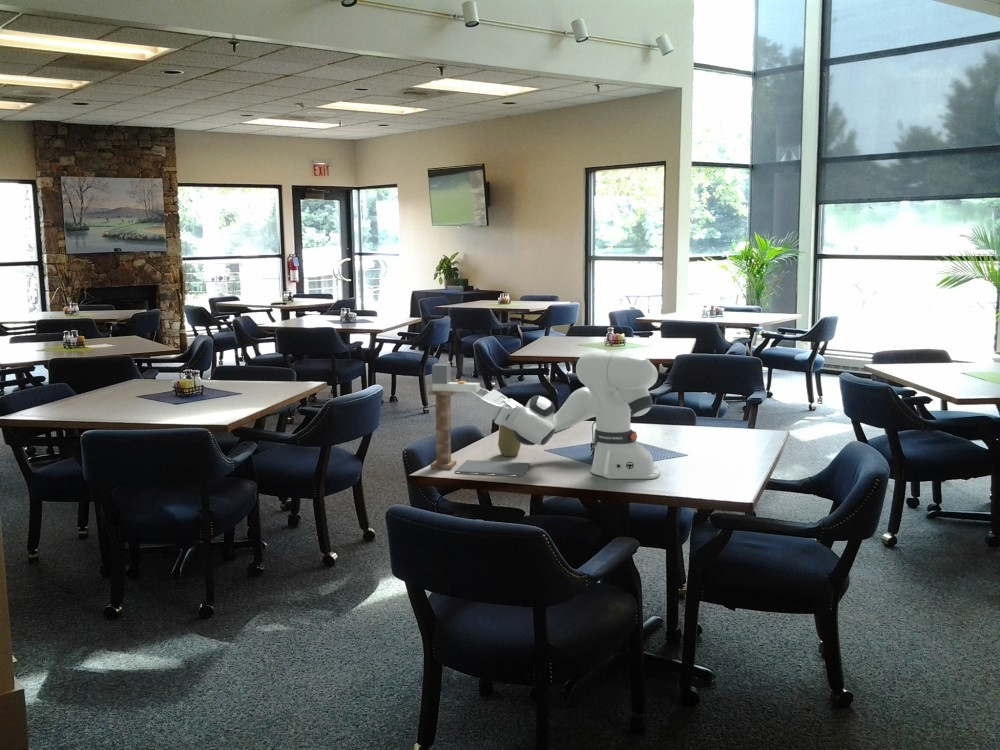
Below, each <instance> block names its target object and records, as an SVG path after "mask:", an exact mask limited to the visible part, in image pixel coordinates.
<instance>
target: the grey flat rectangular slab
mask: <svg viewBox="0 0 1000 750" xmlns="http://www.w3.org/2000/svg"><path fill="white" fill-rule="evenodd" d="M530 466H531V462H520V461H519V462H515V461H497V460H496V461H495V460H494V461H493V460H492V461H491V460H476V459H466V460H465V461H464V462H463V463H462V464H461V465H459V467H458V468H457V469H455V470H454V473H455V472H460V473H478V474H495V475H494V476H497V475H516V476H515V477H517V476H522V477H523V475H524V474H525V473H526V471H528V469H529V468H528V467H530ZM524 472H525V473H524ZM523 473H524V474H523ZM478 474H477V475H478Z"/></svg>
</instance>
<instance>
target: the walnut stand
mask: <svg viewBox="0 0 1000 750" xmlns="http://www.w3.org/2000/svg"><path fill="white" fill-rule="evenodd" d="M456 393H457V392H455V391H433V388H432V389H431V390H428V391H427V395H429V396H430V395H432V396H435V454H436V455H435V459H436V460H434V461H433V462H432V463H430V469H431V468H434V469H433V470H446V469H451V470H453V469H454V468H455V467H456V466H457V460H452V441H451V440H452V438H451V437H452V431H451V430H452V425H451V424H452V423H451V422H452V421H451V420H452V417H451V416H452V415H451V412H452V411H451V396H453V395H455V394H456ZM455 465H456V466H455ZM454 466H455V467H454ZM453 467H454V468H453ZM452 468H453V469H452Z"/></svg>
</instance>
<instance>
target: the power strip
mask: <svg viewBox="0 0 1000 750" xmlns="http://www.w3.org/2000/svg"><path fill="white" fill-rule="evenodd" d="M451 366H452V365H451V363H434V364H432V365H431V384H432V389H433V391H455V392H456V393H458V392H460V393H462V392H463V393H464V392H465V393H469V391H471V390H472V391H473V392H475V393H477V392H478V391H479V390H480V387H481V385H480V384H481V383H480V382H467V381H466V380H460V381H459V380H458V381H452V380H451V377H452V376H451V373H452V371H451V370H452V369H451V368H452V367H451Z"/></svg>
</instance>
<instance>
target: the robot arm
mask: <svg viewBox="0 0 1000 750" xmlns="http://www.w3.org/2000/svg"><path fill="white" fill-rule="evenodd" d="M575 365H576V366H575V374H576V376H577V378H578V380H579V382H580V383H581V384H583V385H584V386H582V387H581V388H580V387H579V388H578V389H576V390H574V391H573V392H572V393H571V394H570V395H569V396H568V397H567V399H566V400H565V402H564V403H563V404H562V406H561V407H560V408H559V410H557V411H556V407H555V405H554V403H553V402H552V401H551V399H549V398H548V397H546V396H544V395H534V396H532V397H531V398H530V399H529V400H528V401H527V403H526V405H525V406H524V405H523V404H521V403H519V402H518V401H516V400H514V399H513V398H508V397H507V396H506V395H504V394H503V393H501V392H500V391H498V390H496V389H494V388H493V389H491V390H490V391H489V390H488V389H486V388H483V387H481V386H480V390H479V391H478V392H473V391H472V390H471V391H469V392H467V396H468V397H470V399H472V400H473V401H474V402H475V403H476V405H475V408H476V410H478V411H479V412H481V413H482V414H483V415H485V416H486V417H488V418H489V419H491V420H493V423H495V424H496V425H498V426H500V425H503V426H506V427H507V428H509V429H512V430H513V433H514V436H515V438H516V439H517V440H518V441H519V442H520V443H521V445H523V446H535V445H538V446H544V445H546V444H547V443H548V442H549V441H550V439H552V437H553V435H556V434H558V433H561V432H563V431H564V432H565V430H566V431H567V430H568V429H570V428H572V427H574V426H575V425H578V424H579V423H581V422H584V421H587V420H589V419H591V418H592V419H593V418H595V423H596V424H595V427H596V428H595V429H594V433H593V435H594V436H593V437H594V438H593V441H594V442H593V443H594V454H593V455H594V456H593V460H592V464H591V468H590V470H589V471H590V473H592V474H593V475H597V476H601V477H603V478H605V479H613V480H614V479H616V480H622V479H624V480H625V479H627V480H629V479H630V480H631V479H632V480H634V479H635V480H640V479H642V480H643V479H644V480H653V479H657V478H659V477H660V476H661V469H660V468H659V467H657V466H655V464H654V459H653V458H654V457H653V456H652V454H651V452H650V451H649V450H648V449H646V448H645V447H644V446H643V445H642V444H640V443H639V442H637V439H638V435H637V432H636V430H632V429H631V417H632V418H635V417H640V416H644V415H645V414H647V413H648V412H649V411H650V410H651V409H652V408H653V404H654V402H653V399H652V396H651V395H650V391H649V389H650V388H651V387H653V386H654V385H655V384H656V383H657V380H658V377H659V373H658V370H657V367H656V366H655V365H654V364H653V363H652V362H651V361H650V359H649V358H647V357H644V356H640V355H636V354H627V353H626V354H624V353H615V352H614V353H612V352H611V353H610V352H609V353H608V352H597V351H596V352H591V353H590V352H589V353H584V354H582V355H581V356H580V357H579V358H578V359H577V363H576V364H575ZM479 394H480V395H479ZM481 395H482V396H481ZM659 475H660V476H659Z"/></svg>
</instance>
